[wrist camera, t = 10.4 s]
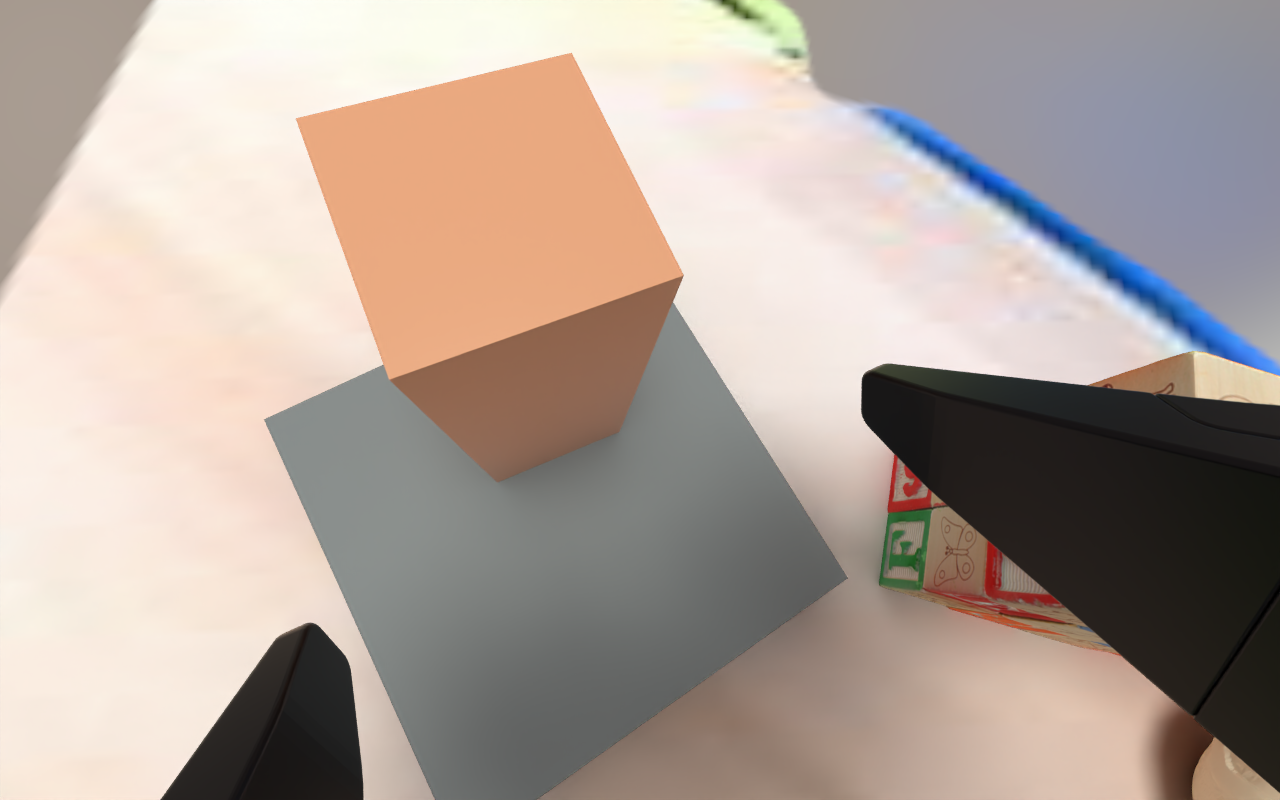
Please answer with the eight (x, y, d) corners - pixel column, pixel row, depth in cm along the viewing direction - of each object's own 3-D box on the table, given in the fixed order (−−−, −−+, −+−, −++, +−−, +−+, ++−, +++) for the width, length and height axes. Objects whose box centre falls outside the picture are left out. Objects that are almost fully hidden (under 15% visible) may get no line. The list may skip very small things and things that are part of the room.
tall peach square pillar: (619, 431, 21) (683, 275, 9) (497, 482, 20) (389, 380, 8) (570, 322, 22) (571, 53, 10) (451, 365, 21) (295, 118, 9)
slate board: (833, 576, 22) (847, 578, 21) (466, 834, 18) (459, 854, 17) (635, 262, 25) (638, 247, 23) (281, 426, 21) (264, 419, 20)
